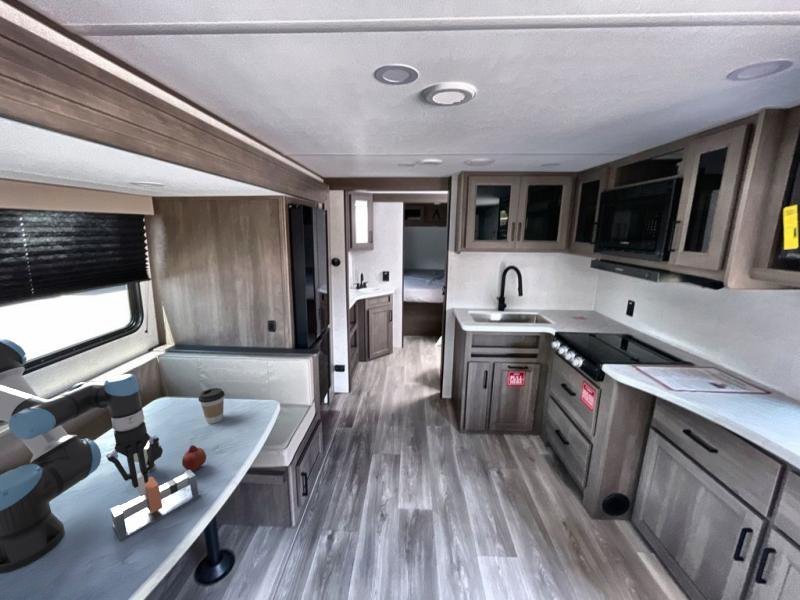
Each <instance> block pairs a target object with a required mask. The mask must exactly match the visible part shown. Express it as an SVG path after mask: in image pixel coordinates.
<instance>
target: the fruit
mask: <svg viewBox="0 0 800 600" xmlns="http://www.w3.org/2000/svg"><path fill="white" fill-rule="evenodd" d="M206 460H207V454H206V452H205V450H204V449H203V448H202V447H196V445H193V444H192V445H190V446H189V448H188V450H187V451H186V452H185V453H184V455H183V457H182V461H181V464H182V467H183V468H184V469H185V470H186V471H188V470H191V471H192V472H193V471H196V470H198V469H199V468H200V467H202V466H203V465H204V464H205V462H206Z"/></svg>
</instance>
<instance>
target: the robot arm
mask: <svg viewBox="0 0 800 600" xmlns="http://www.w3.org/2000/svg"><path fill="white" fill-rule="evenodd" d="M26 355H27V354H26V351H25V350H24V348H23V347H22V346H21V345H20V344H18V343H17V342H16V341H15V340H12V339H11V338H6V337H5V338H4V337H0V421H3V422H6V423H8V428H9V430H10V432H11V433H12V435H15V438H18V439H20V440H22V442H23V444H25V446H26V447H27V448H28V450H29V451H30V452H31V453H32V457H31V458H30V459H31V460H30V462H29V464H24V465H20V466H17V468H14V469H13V468H12V469H9V470H8V471H6V472H4V473H2V474H0V574H6V573H9V572H14V571H17V570H19V569H21V568H24V567H26V566H28V565H30V564H32V563H34V562H36V561H38V560H39V559H41V558H42V557H44V556H46V555H47V554H48V553H49V552H51V551H52V550H53V549H54V548H56V547H57V546H58V545H59V543H61V541H62V540H63V539H64V537H65V534H66V529H65V526H64V523H63V522H62V521H61V519H59V518H58V517H57V516H56V515H55V514H54V513H53V512H52V509H51V503H50V502H51V501H53V500H54V499H56V498H57V497H59V496H61V495H62V494H64V493H65V492H66V491H68V490H69V489H71V488H72V487H73V486H75V485H77V484H78V483H80V482H82V481H83V480H85V479H87V477H89V476H90V475H92V474H93V473H94V472H95V471H97V470H98V468H99V467H100V465H101V462H102V461H101V460H102V452H101V449H100V447H99V445H98V444H97V443H96V441H94V440H92V439H90V438H80V437H79V436H78V435H77V434H68V432H67V431H66V430H65V428H63V426H62V425H64V424H66V423H67V422H69V421H71V420H73V419H76V418H78V417H80V416H82V415H84V414H86V413H88V412H90V411H92V410H94V409H108V410H109V417H110V420H111V425H112V429H113V434H114V440H115V446H114V450H113V451H112V452H110V453H108V454H106V459H107V460H108V462H110V463H112V464H114V466H115V467H116V469H117V470H118V472H119V474H120V475H121V477H122V479H123V480H124V481H125V482H127V481H129V480H131V483H132V486H133V488H134V489H136V488H137V491H138V492H137V493H138V495H139V496H141V497H142V496H144V495H146V494H147V493H146V488H145V483H147V482H148V478H149V476H148V473H149V472H148V471H149V470H150V471H152V470H151V469H153V467H154V463H155V462H154V460H155V452H156V445H157V443H158V442H159V441H160V438H159V437H158V436H157V435H154V436H153V435H152V436H150V435H149V433H148V431H147V425H146V422H145V415H144V410H143V403H142V397H141V391H140V386H139V382H138V380H137V379H138V378H137V376H136V375H135V374H133V373H125V374H118V375H115V376H111V377H109V378H107V379H106V380H105V381H93V380H92V381H83V382H82V381H81V382H78V383H75V384H74V385H73V386H72V387H70V389H68V391H67V392H65V393H63V394H59V395H57V396H54V397H52V398H49V399H46V398H43V397H40V396H38V394H37V393H36V391H35V390H34V389H33V388H32V387H31V384H29V383H28V382H27V380H26V379H25V377H24V376H23V374H24V372H25V370H26V368H25V367H24V366H25V365H26V362H27V356H26ZM148 441H149V443H150V444H149V451H148V459H147V465H146V463H145V457H144V450H143V449H144V448H145V446H146V444H147V443H148ZM135 453H137V456H138V461H139V462H138V465H139V466H138V467H139V471H140V472H138V473H137V468H136V464H135V463H136V462H134V454H135ZM119 454H120V455H123V456H124V457H126V462H127V467H128V471H129V472H127V471H126V470H125V468H124V467H123V465H122V463H121V462H120V460H119ZM155 461H156V460H155ZM153 470H154V469H153Z"/></svg>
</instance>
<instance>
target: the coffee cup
mask: <svg viewBox="0 0 800 600" xmlns="http://www.w3.org/2000/svg"><path fill="white" fill-rule="evenodd" d="M225 395H226V393H225V391H223V390H222V388H219V387H214V388H209V389H205V390H204V391H202V392H200V395H199V396H198V402H200V405H201V409H202V411H203V415H204V418H205V419H204V420H205V421H206V424H209V425H213V424H218V423H220V422H221V421H223V420H224V405H225V404H224V402H225V401H224V400H225Z"/></svg>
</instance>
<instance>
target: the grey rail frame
mask: <svg viewBox="0 0 800 600" xmlns="http://www.w3.org/2000/svg"><path fill="white" fill-rule="evenodd" d="M159 490H160V495H161V501H162V507H163V508H161V509H159V510H157V511H155V512H154V513H152V514H151V512H150V511H149V509H148V508H147V507H149V501H148V497H147V495H144V496H142V497H141V496H140V495H139V496H138V497H136V498H134V499H131V500H129V501H128V502H126V503H123V504H121V505H119V504H118V505H116V506H113V507H111V508H110V514H111V518H112V519H111V520H112V522H113V523H112V528H113V531H114V532H115V534H116V536H117V537H118V539H119V541H120V543H122V542H124V541H126V540H128V539H129V538H131V537H132V536H133V537H134V536H135V535H136V534H138V533H140V532H141V531H143V530H145V529H148V528H149V527H151V526H152V525H154V524H155V523H158V522H159V521H162V519H165V518H166V517H168V516H170V515H171V514H173V513H175V512H177V511H179V510H180V509H182V508H183V507H185V506H187V505H189V504H191V503H192V502H194V501H196V500H198V499H199V498H202V495H201V493H200V492H199V489H198V482H197V475H196V474H195V473H194V472H193V471H191V470H185V471H184V472H183V474H182V475H181V474H180V475H179V476H177V477H174V478H173V479H171V480H169V481H167V482H165V483H163V484H162V485H159Z"/></svg>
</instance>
